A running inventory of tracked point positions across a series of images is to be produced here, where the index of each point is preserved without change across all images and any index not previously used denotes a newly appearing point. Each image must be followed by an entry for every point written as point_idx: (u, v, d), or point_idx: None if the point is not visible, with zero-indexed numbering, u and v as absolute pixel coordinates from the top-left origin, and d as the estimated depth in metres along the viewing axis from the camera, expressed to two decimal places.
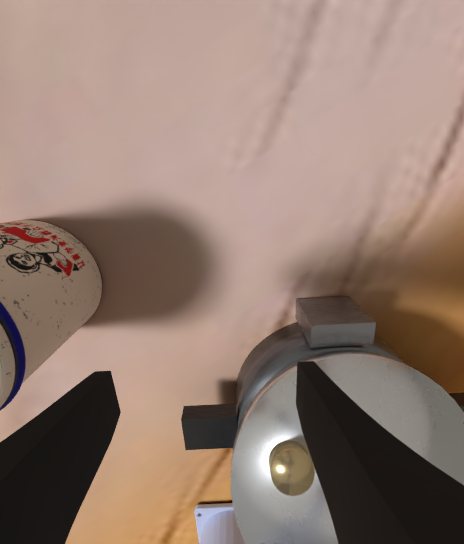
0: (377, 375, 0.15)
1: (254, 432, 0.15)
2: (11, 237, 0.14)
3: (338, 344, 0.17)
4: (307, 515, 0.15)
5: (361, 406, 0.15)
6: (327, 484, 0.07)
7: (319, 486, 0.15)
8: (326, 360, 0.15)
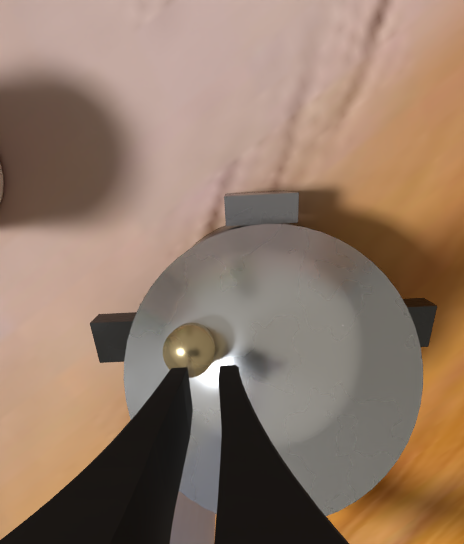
0: (296, 247, 0.13)
1: (152, 314, 0.13)
2: None
3: (258, 222, 0.14)
4: (213, 409, 0.13)
5: (277, 283, 0.13)
6: None
7: None
8: (236, 230, 0.13)
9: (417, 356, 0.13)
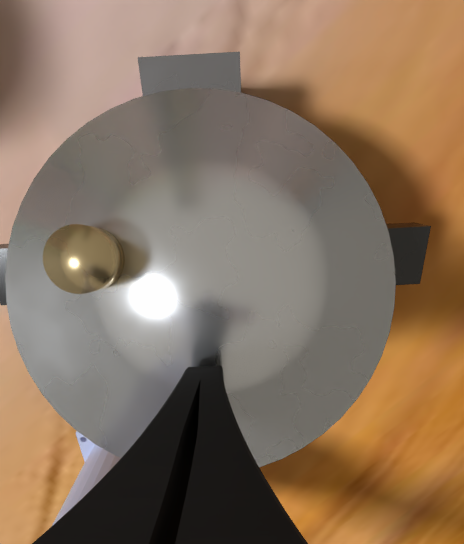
0: (232, 122, 0.10)
1: (38, 215, 0.10)
2: None
3: None
4: (124, 338, 0.10)
5: (205, 173, 0.10)
6: None
7: (141, 296, 0.10)
8: (147, 97, 0.10)
9: (388, 270, 0.10)
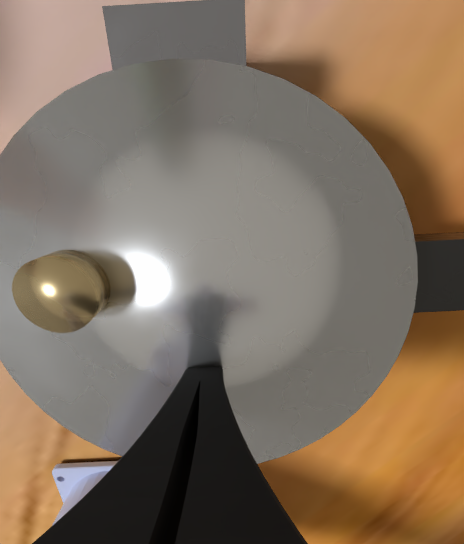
0: (234, 112, 0.07)
1: None
2: None
3: None
4: (120, 363, 0.10)
5: (200, 183, 0.08)
6: None
7: (133, 323, 0.09)
8: (115, 73, 0.07)
9: (409, 296, 0.09)
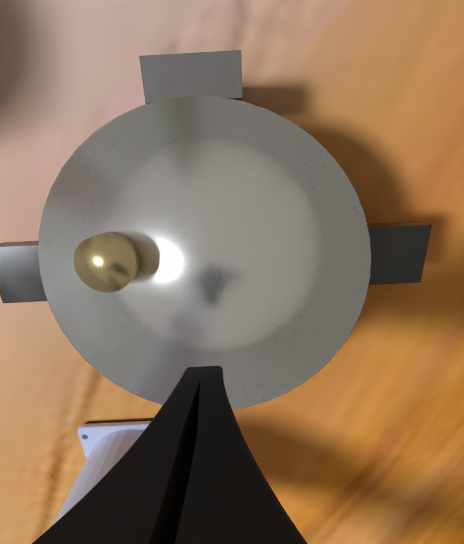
0: (233, 132, 0.10)
1: (60, 221, 0.11)
2: None
3: None
4: (146, 320, 0.13)
5: (209, 182, 0.11)
6: None
7: (157, 289, 0.12)
8: (150, 105, 0.10)
9: (365, 268, 0.12)
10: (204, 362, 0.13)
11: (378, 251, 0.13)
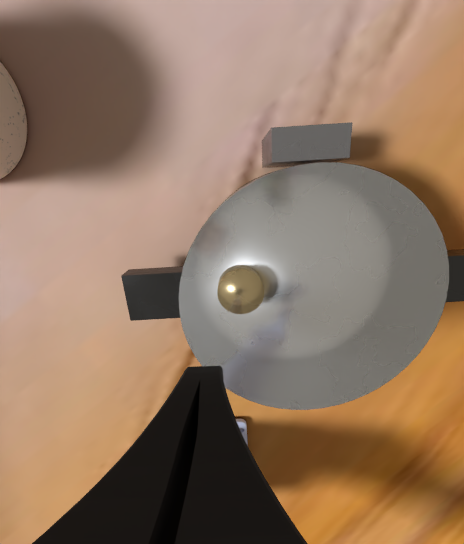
0: (349, 188, 0.13)
1: (202, 257, 0.14)
2: None
3: (306, 158, 0.13)
4: (258, 335, 0.15)
5: (324, 226, 0.13)
6: None
7: (271, 309, 0.15)
8: (287, 169, 0.12)
9: (443, 291, 0.14)
10: (302, 368, 0.16)
11: None
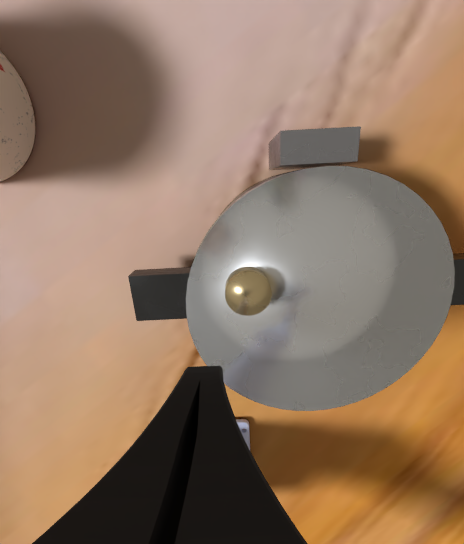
0: (357, 192, 0.13)
1: (210, 259, 0.14)
2: None
3: (314, 161, 0.14)
4: (264, 336, 0.15)
5: (332, 229, 0.13)
6: None
7: (278, 311, 0.15)
8: (296, 173, 0.12)
9: (448, 294, 0.15)
10: (307, 370, 0.16)
11: None
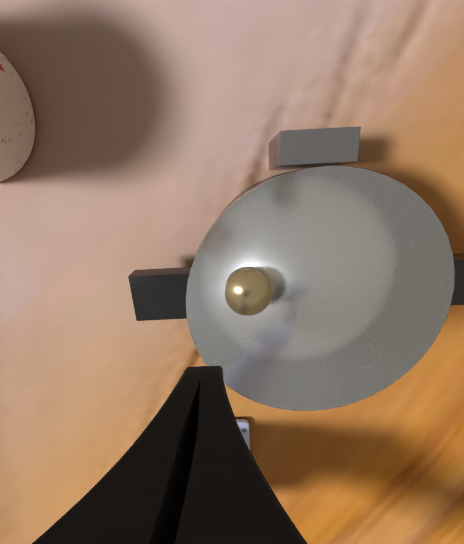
0: (357, 192, 0.13)
1: (210, 259, 0.14)
2: None
3: (314, 161, 0.14)
4: (264, 336, 0.15)
5: (332, 229, 0.13)
6: None
7: (278, 311, 0.15)
8: (296, 173, 0.12)
9: (448, 294, 0.15)
10: (307, 370, 0.16)
11: None
